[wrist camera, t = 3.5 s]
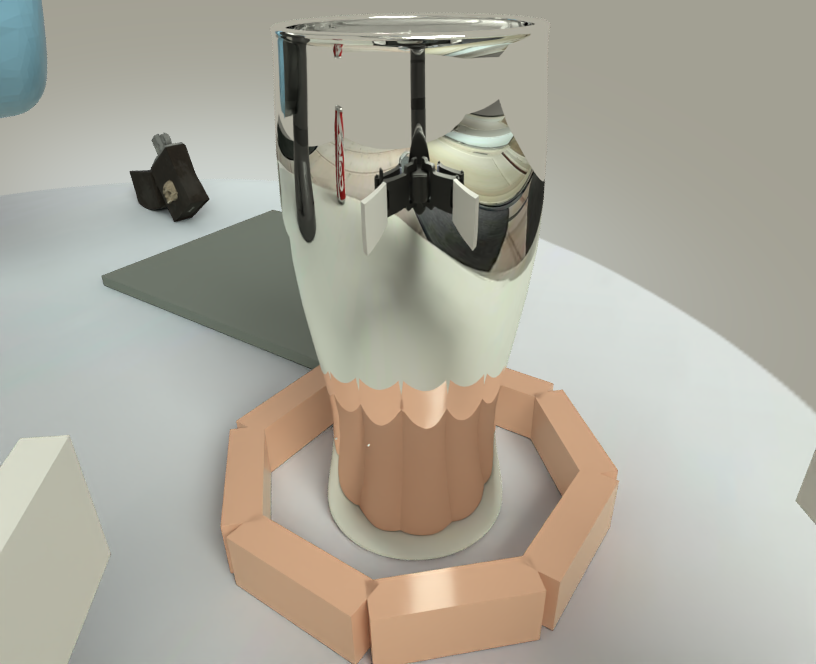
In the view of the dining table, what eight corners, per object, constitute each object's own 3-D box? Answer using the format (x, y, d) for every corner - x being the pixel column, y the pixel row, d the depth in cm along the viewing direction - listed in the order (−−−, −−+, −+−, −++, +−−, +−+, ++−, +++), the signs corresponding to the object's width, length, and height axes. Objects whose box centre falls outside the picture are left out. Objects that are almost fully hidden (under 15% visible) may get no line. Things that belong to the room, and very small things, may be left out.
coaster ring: (155, 529, 21) (142, 483, 20) (380, 362, 30) (378, 325, 29) (484, 754, 15) (489, 704, 14) (646, 461, 24) (655, 417, 23)
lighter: (148, 243, 51) (117, 176, 50) (174, 236, 52) (144, 171, 52) (181, 206, 44) (146, 128, 43) (210, 198, 45) (176, 123, 45)
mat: (103, 285, 38) (101, 275, 38) (273, 217, 48) (272, 209, 48) (336, 378, 29) (335, 367, 29) (486, 271, 39) (486, 262, 39)
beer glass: (370, 414, 27) (349, 11, 19) (536, 458, 24) (585, 13, 17) (275, 533, 21) (194, 30, 14) (478, 605, 19) (514, 38, 11)
